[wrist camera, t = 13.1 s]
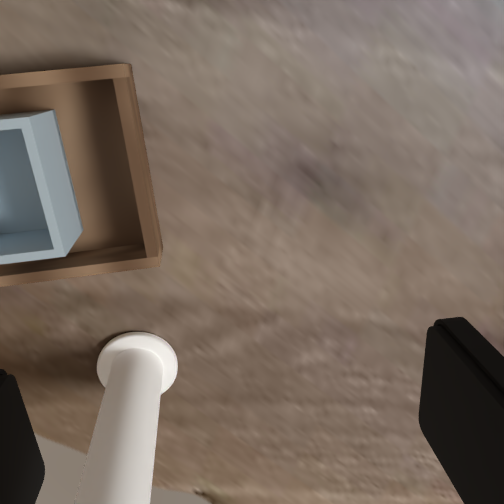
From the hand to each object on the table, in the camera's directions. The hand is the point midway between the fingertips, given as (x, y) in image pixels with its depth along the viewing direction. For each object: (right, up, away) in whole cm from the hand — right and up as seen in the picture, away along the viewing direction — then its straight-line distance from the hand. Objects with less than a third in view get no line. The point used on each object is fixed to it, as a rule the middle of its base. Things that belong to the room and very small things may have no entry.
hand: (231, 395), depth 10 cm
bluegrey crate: (-16, +9, +23) cm, 30 cm away
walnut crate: (-16, +9, +24) cm, 30 cm away
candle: (-10, -7, +31) cm, 34 cm away
